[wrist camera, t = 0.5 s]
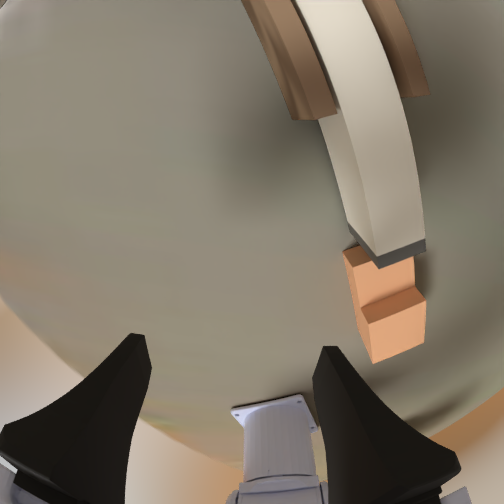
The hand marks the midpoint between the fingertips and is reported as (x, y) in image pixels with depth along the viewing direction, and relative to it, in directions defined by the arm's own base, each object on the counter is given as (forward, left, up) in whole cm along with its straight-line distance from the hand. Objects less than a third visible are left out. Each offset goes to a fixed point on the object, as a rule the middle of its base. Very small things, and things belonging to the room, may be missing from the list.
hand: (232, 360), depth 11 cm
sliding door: (+7, -9, -9) cm, 15 cm away
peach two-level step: (-6, -9, -10) cm, 15 cm away
